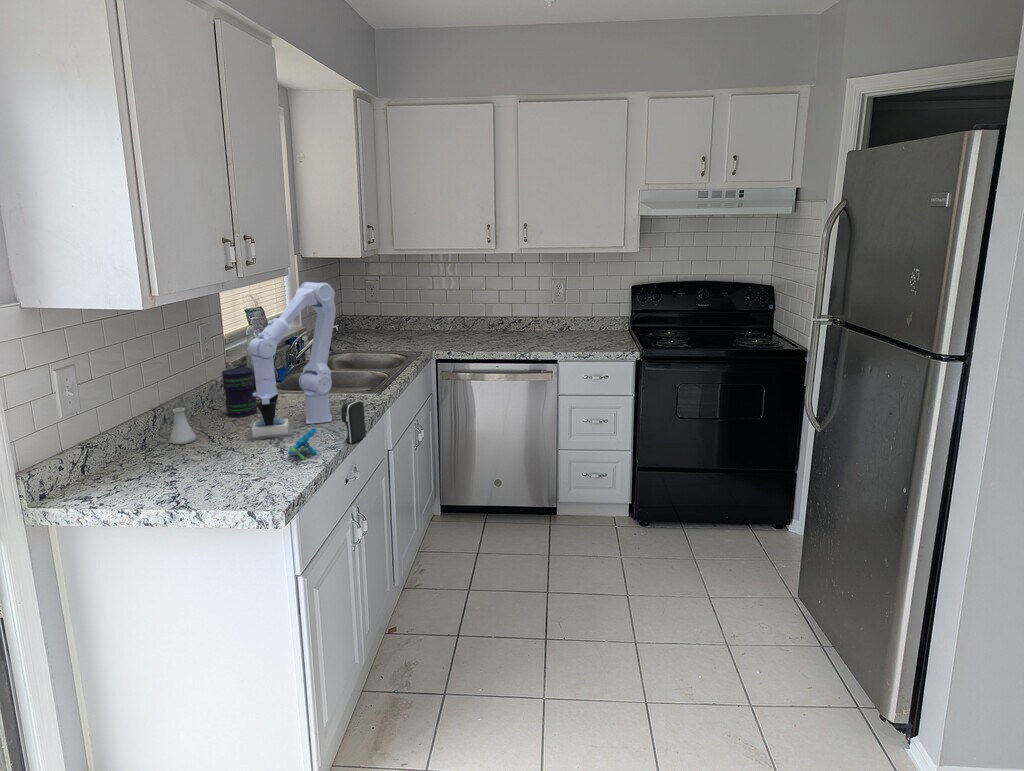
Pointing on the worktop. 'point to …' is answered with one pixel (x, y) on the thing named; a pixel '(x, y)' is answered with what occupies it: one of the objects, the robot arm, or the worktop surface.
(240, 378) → the storage jar
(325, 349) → the robot arm
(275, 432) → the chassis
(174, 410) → the flask
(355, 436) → the battery charger
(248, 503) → the worktop surface
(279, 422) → the block
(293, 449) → the gear
